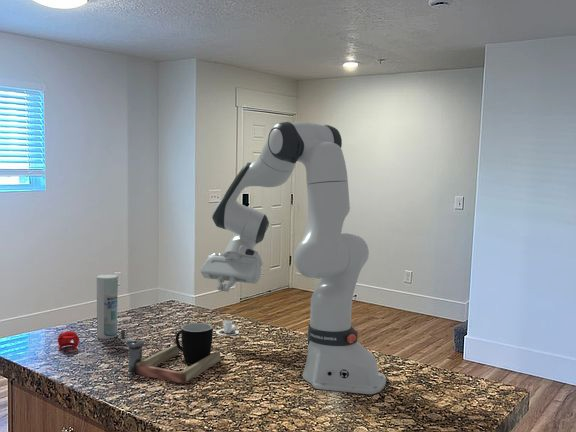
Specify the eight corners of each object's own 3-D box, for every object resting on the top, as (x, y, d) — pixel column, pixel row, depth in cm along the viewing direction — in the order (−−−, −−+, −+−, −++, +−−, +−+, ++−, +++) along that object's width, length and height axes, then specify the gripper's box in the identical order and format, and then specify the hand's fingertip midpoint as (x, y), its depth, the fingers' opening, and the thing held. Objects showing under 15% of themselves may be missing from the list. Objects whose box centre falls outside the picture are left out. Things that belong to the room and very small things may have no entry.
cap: (55, 347, 167) (55, 329, 166) (74, 344, 170) (74, 326, 169) (61, 353, 161) (61, 335, 160) (81, 350, 164) (81, 332, 164)
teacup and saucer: (229, 328, 193) (229, 317, 193) (245, 333, 188) (245, 321, 187) (210, 333, 186) (211, 321, 186) (226, 338, 181) (227, 326, 181)
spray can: (107, 332, 183) (107, 273, 181) (121, 335, 180) (121, 275, 178) (92, 337, 177) (92, 276, 175) (107, 340, 174) (107, 278, 172)
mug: (218, 359, 159) (218, 325, 159) (199, 368, 151) (200, 333, 151) (185, 352, 165) (185, 319, 164) (166, 361, 157) (166, 326, 156)
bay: (220, 360, 158) (220, 350, 158) (183, 383, 141) (184, 372, 140) (176, 353, 164) (176, 343, 163) (136, 374, 146) (136, 363, 146)
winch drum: (147, 368, 151) (147, 331, 150) (136, 373, 146) (137, 335, 145) (126, 364, 153) (127, 327, 152) (115, 369, 149) (116, 331, 148)
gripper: (206, 247, 183) (190, 281, 174) (262, 252, 175) (248, 287, 167) (213, 258, 187) (197, 292, 179) (267, 264, 180) (253, 299, 171)
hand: (222, 290), depth 173 cm, fingers closed
